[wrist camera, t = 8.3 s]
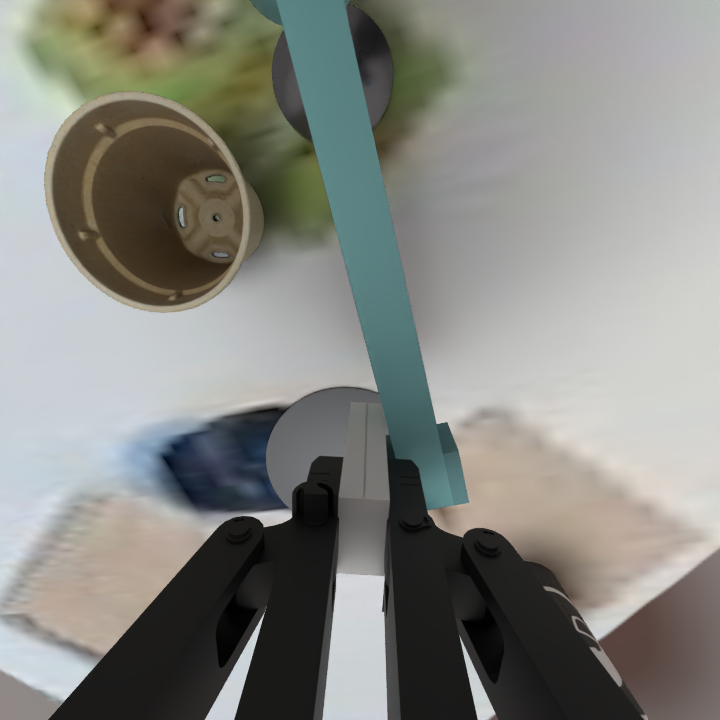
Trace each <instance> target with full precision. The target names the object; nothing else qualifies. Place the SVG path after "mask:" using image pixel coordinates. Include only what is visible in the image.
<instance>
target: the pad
mask: <svg viewBox="0 0 720 720" xmlns="http://www.w3.org/2000/svg"><path fill="white" fill-rule="evenodd" d="M351 402H362V403H381V400H380V396H379V394H378V393H375V392H372V391H369V390H364V389H359V388H348V387H344V388H332V389H326V390H322V391H319V392H315V393H313V394H311V395H308V396H306V397H304V398H302V399H301V400H299V401H298V402H296V403H295V404H293V405H292V406H291V407H290V408H289V409H288V410H287V411H286V412H285V413H284V414H283V415H282V416H281V417H280V419H279V420H278V422H277V423H276V425H275V427H274V429H273V431H272V433H271V435H270V438H269V441H268V445H267V452H266V465H267V471H268V475H269V478H270V481H271V483H272V486H273V488H274V490H275V491H276V493H277V494H278V496H279V498H280V499H281V500H282V501H283V502H284V503H285V505H286V506H287V507H289V508H290V509H291V510H292V492H293V490H294V489H295V487H297V486H298V485H299V484H301V483H303V482H306V481H307V477H308V474H309V470H310V466H311V463H312V462H313V461H314V460H315V459H316V458H317V457H318V456H333V457H344V451H345V443H346V436H347V428H348V420H349V413H350V405H351ZM384 421H385V435H389V431H388V427H387V423H386V419H385V415H384Z"/></svg>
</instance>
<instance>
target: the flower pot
mask: <svg viewBox="0 0 720 720" xmlns="http://www.w3.org/2000/svg"><path fill="white" fill-rule="evenodd" d="M44 174H45V177H44V182H45V184H44V186H45V196H46V205H47V207H48V212H49V215H50V219H51V222H52V225H53V228H54V230H55V233H56V235H57V237H58V240H59V241H60V243H61V245H62V247H63V249H64V251H65V252H66V254H67V256H68V257H69V258H70V260H71V261H72V262H73V264H74V265H75V266H76V267H77V269H78V270H79V271H80V272H81V273H82V274H83V275H84V276H85V277H86V278H87V279H88V280H89V281H90V282H91V283H92V284H93V285H94V286H96V287H97V288H98V289H100V290H101V291H102V292H103V293H105V294H106V295H108V296H109V297H111V298H113V299H115V300H116V301H118V302H120V303H122V304H125V305H128V306H130V307H133V308H136V309H140V310H145V311H149V312H160V313H167V312H177V311H184V310H188V309H192V308H195V307H197V306H200V305H202V304H204V303H206V302H207V301H209V300H211V299H212V298H214V297H215V296H216V295H218V294H219V293H220V292H222V291H223V290H224V289H225V288H226V286H227V285H228V284H229V283H230V282H231V281H232V279H233V278H234V277H235V275H236V274H237V272H238V270H239V268H240V266H241V264H242V262H243V261H244V260H246V259H247V258H248V257H250V256H251V255H252V254H253V252H254V251H255V250H256V248H257V247H258V245H259V243H260V241H261V238H262V235H263V230H264V214H263V209H262V206H261V202H260V200H259V198H258V196H257V194H256V192H255V191H254V189H253V188H252V186H251V185H250V184H249V183H248V182H247V181H246V180H245V179H244V177H243V174H242V172H241V170H240V167H239V165H238V163H237V161H236V159H235V158H234V156H233V154H232V153H231V151H230V150H229V148H228V147H227V145H226V144H225V142H224V141H223V140H222V139H221V137H220V136H219V135H218V134H217V133H216V132H215V131H214V130H213V129H212V128H211V127H210V126H209V125H208V124H207V123H206V122H205V121H204V120H203V119H202V118H200V117H199V116H198V115H197V114H195V113H194V112H192V111H191V110H189V109H188V108H186V107H185V106H183V105H181V104H179V103H177V102H175V101H173V100H170V99H168V98H165V97H161V96H158V95H155V94H151V93H144V92H136V91H127V92H117V93H110V94H105V95H103V96H100V97H97V98H95V99H93V100H91V101H89V102H87V103H85V104H83V105H82V106H81V107H80V108H79V109H78V110H76V111H75V112H73V113H72V115H70V116H69V117H68V118H67V119H66V120H65V121H64V124H62V125H61V128H60V129H59V130H58V132H57V134H56V135H55V138H54V140H53V142H52V145H51V147H50V149H49V151H48V156H47V161H46V167H45V173H44ZM220 175H222V176H224V177H225V181H224V183H220V182H207V180H206V178H208V177H211V176H220ZM180 207H182V208H183V216H184V224H185V227H181V225H180V223H179V220H178V211H179V208H180ZM214 215H217V216H218V217H219V220H218V221H214V219H213V216H214ZM220 251H221V252H222V253H227V254H228V257H215V256H214V255H213V254H212V253H213V252H215V253H219V252H220Z"/></svg>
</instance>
